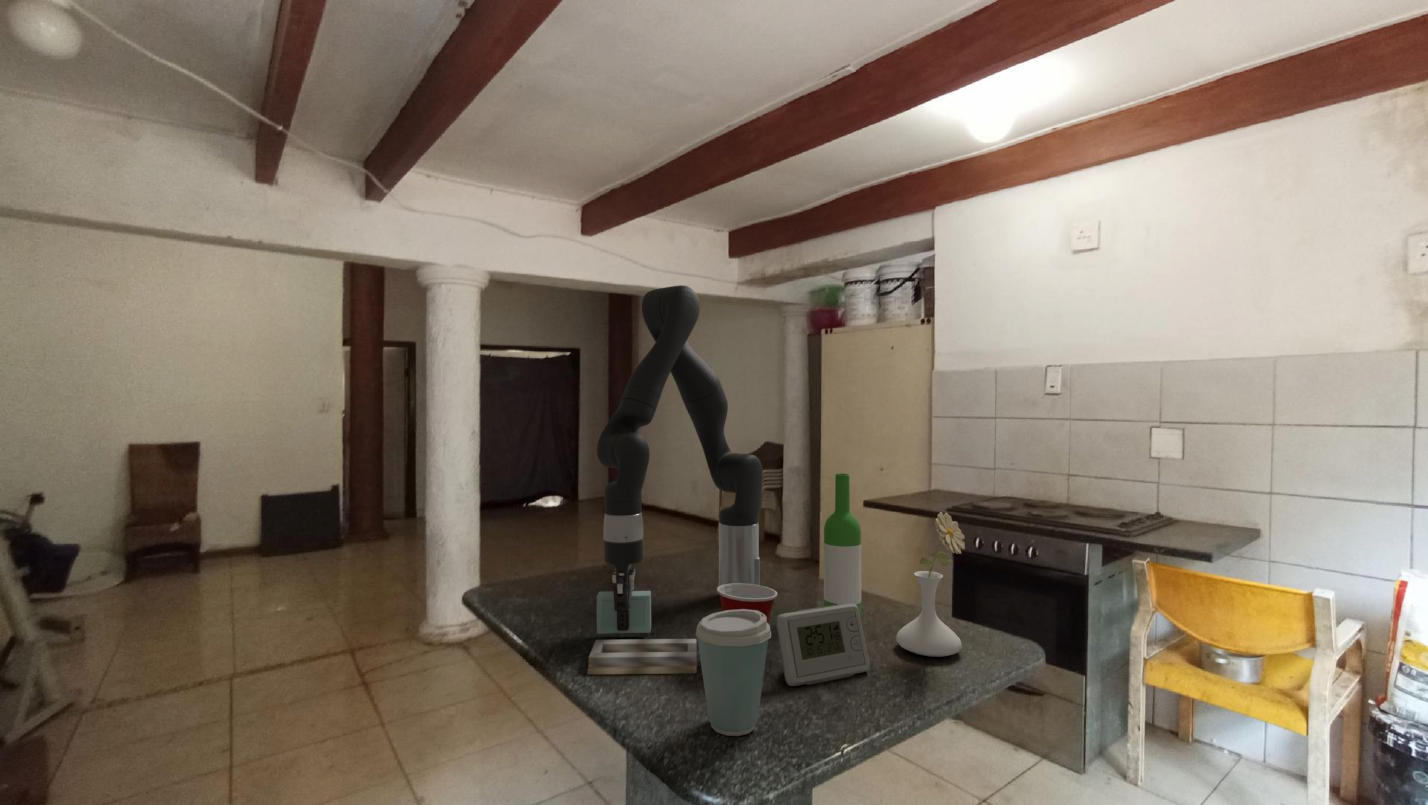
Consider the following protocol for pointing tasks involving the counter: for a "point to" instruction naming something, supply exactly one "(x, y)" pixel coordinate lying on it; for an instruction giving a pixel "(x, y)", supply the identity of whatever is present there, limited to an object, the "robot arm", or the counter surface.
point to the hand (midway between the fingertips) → (624, 625)
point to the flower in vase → (933, 600)
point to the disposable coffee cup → (733, 667)
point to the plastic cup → (747, 597)
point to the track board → (643, 656)
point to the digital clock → (821, 644)
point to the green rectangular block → (637, 613)
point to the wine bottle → (842, 550)
